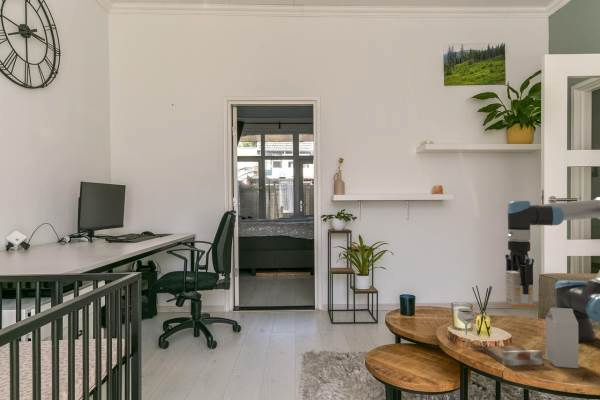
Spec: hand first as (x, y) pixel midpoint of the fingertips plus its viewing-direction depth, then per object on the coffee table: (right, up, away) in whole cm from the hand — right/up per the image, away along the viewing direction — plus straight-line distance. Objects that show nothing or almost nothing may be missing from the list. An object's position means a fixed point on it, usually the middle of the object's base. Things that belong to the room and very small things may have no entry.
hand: (519, 300), depth 145 cm
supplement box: (0, -2, 0) cm, 2 cm away
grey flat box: (-9, -17, -11) cm, 22 cm away
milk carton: (+5, -18, -16) cm, 24 cm away
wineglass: (-18, -18, +6) cm, 26 cm away
